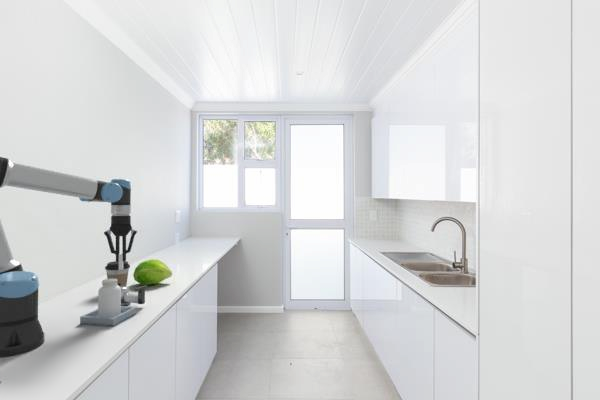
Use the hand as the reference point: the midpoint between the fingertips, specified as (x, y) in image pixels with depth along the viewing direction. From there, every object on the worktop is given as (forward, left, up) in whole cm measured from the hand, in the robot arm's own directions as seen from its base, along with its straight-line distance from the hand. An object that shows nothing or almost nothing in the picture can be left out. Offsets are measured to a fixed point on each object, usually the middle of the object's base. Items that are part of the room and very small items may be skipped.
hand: (120, 269), depth 149 cm
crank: (+5, -1, -16) cm, 17 cm away
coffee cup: (+22, +18, -18) cm, 34 cm away
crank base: (+10, +3, -17) cm, 20 cm away
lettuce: (+40, +10, -18) cm, 45 cm away
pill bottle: (-12, -4, -17) cm, 21 cm away
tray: (-12, -4, -17) cm, 21 cm away
